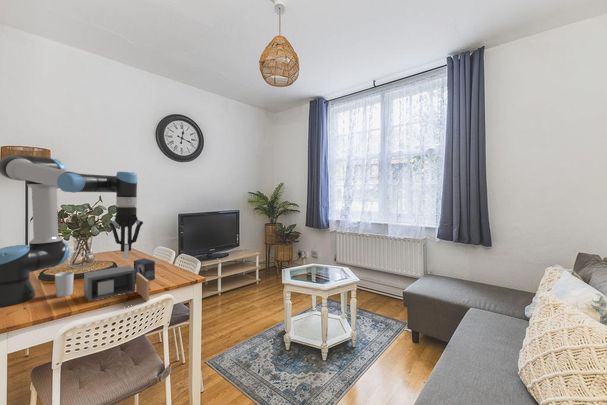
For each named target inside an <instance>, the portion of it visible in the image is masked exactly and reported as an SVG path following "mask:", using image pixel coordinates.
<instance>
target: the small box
mask: <svg viewBox="0 0 607 405" xmlns="http://www.w3.org/2000/svg"><path fill="white" fill-rule="evenodd" d="M155 265H156V262H155V260H151V259H148V258H145V257H143V258H139V259H135V260H133V269H135V280H136V273H140V274H141V275H142V276H144V277H145V278H146V279H147V280H149V282H150V281H153V280H155V278H156V270H155V268H156V267H155Z"/></svg>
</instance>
